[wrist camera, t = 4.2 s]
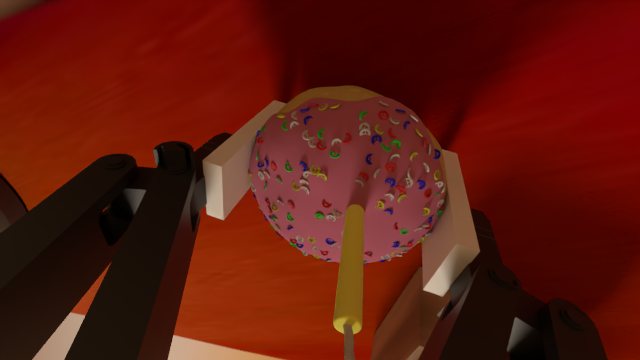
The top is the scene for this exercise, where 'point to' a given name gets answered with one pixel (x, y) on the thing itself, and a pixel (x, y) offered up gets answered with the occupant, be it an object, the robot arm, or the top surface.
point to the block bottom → (408, 322)
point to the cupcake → (348, 184)
